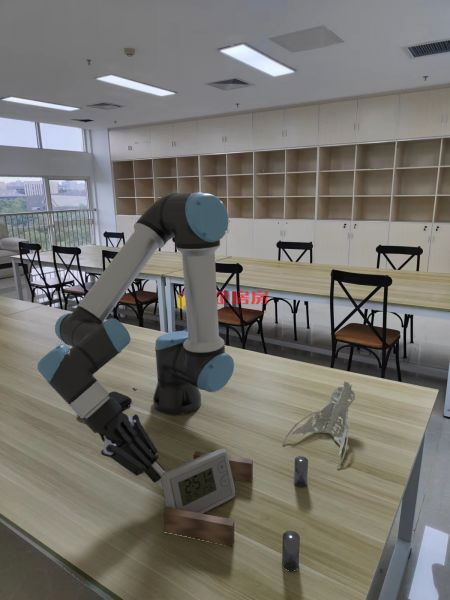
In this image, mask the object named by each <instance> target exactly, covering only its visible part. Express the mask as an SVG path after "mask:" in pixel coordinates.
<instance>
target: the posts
mask: <svg viewBox="0 0 450 600" xmlns="http://www.w3.org/2000/svg"><path fill="white" fill-rule="evenodd" d="M293 468H294V469H293V472H294V473H293V484H294V485H295V486H296V487H297V488H305V487H307V486H308V476H309V474H308V472H309V471H308V470H309V460H308V458H307V457H305V456H303V455H301V456H300V455H299V456H296V457H294V467H293ZM300 543H301V536H300V535H299V533H298V532H296V531H293V530H286V531H285V532H284V533H283V534H282V547H281V548H282V549H281V552H282V554H281V566H282V565H283V566H282V568H283V567H284V568H285V569H287V570H289V571H294V570H296V569H297V568H298V569H299V566H300V547H301V546H300V545H301V544H300ZM284 568H283V569H284ZM285 569H284V570H285ZM298 569H297V570H298ZM287 570H286V571H287ZM297 570H296V571H297ZM289 571H288V572H289ZM294 572H295V571H294Z"/></svg>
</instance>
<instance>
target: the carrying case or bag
mask: <svg viewBox="0 0 450 600" xmlns="http://www.w3.org/2000/svg"><path fill="white" fill-rule="evenodd" d="M108 397H109V398H110V397H112V398H114V399H115V400H116V401H117V402H118V404H119V405H120V406H121V407H122V410H124V409H126V408H127V407H129V406H130V405H132V402H133V399H132V397H129V396H127V395H125V394H123V393H121V392H118V391H114V390H113V391H111V392H109V396H108Z"/></svg>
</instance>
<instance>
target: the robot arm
mask: <svg viewBox="0 0 450 600" xmlns="http://www.w3.org/2000/svg"><path fill="white" fill-rule="evenodd" d="M228 229H229V214H228V211H227V208H226V206H225V204H224V202H223V201H222V200H221V199H220V198H219V197H217V196H216V195H214V194H211V193H207V192H206V193H204V192H185V193H183V192H181V193H179V192H171V193H167V194H165V195H163V196H161V197H159V198H158V199H156V200H155V201H154V202H153V203H152V204H151V205H150V206H149V207H148V208H147V209H146V210H145V211H144V212H143V213H142V215H141V216H140V217H139V218H138V219H137V221H136V222H135V224H134V225H133V230H134V231H133V233H132V234H131V235H130V237H128V239H127V240H126V242H125V243H124V244H123V245H122V247H121V248H120V250H119V251H118V252H117V253H116V255H115V256H114V257H113V259H112V260H111V261H110V262H109V264H108V265H107V267H106V268H105V270H103V272H102V273H101V274H100V276H99V277H97V280H96V281H95V282H94V284H93V285H92V286H91V287H90V289H89V290H88V292H86V294H85V296H83V297H82V299H81V301H80V302H79V303H78V304H77V305H76V307H75V309H74V310H73V311H72V312H66V313H64V314H62V315H61V316H59V317H58V319H57V320H56V322H55V325H54V332H55V334H56V337H58V340H59V339H60V341H61V340H62V342H63V343H64V344H62V343H61V344H59V346H58V345H57V346H56V347H55V348H53V349H52V350H50V351H49V352H47V353H46V354H45V355H44V356H43V357H42V358H41V359H40V360H39V361H38V363H37V371H38V372H39V373H40V375H42V377H43V378H44V379H45V381H46V382H47V384H49V386H51V387H52V389H54V390H55V392H56V394H58V395H59V396H60V397H61V399H63V400H64V401H65V402H66V403H67V404H68V406H69V407H70V408H71V409H72V411H74V412H75V414H77V416H78V417H80V419H84V418H85V420H84V424H85V425H86V426H87V427H88V428H89V429H90V430H91V432H93V433H94V434H98V435H99V436H100V439H101V441H102V442H103V443H104V444H103V449H101V451H100V454H101V456H104V457H107V458H110V459H112V460H114V461H115V462H116V463H118V464H119V465H120V466H122V467H124V468H125V469H127V470H128V471H129V472H131V473H132V474H133V475H135V476H137V477H138V476H141V475H143V474H145V475H146V476H147V477H148V478H149V479H150V480H151V481H152V482H153V483H156V484H157V485H158V486H159V487H160V488H161V490H163V487H162V482H161V476H162V474H164V473H165V472H166V470H165V468H164V467H163V466H162V465H161V463H160V462H158V459H159V455H158V453H159V452H158V449H157V447H156V446H155V444H154V442H153V441H152V439H151V437H150V436H149V434H148V432H146V430H145V428H144V427H143V425H142V422H141V420H140V417H139V415H138V414H137V413H136V414H134V415H133V416H128V415H127V414H126V413H124V412H122V410H123V409H122V407H121V406H120V405H119V404H118V402H117V401H116V400H115V399H114V398H112V397H110V398H109V397H108V396H109V393H110V392H109V391H108V390H107V389H106V388H105V387H104V386H103V385H102V384H101V382H100V381H99V380H98V379H97V378H96V377H95V376H94V375H95V373H97V372H98V371H99V370H100V369H101V368H103V367H104V366H106V364H108V363H109V362H110V361H112V359H114V358H115V357H117V355H119V354H120V353H122V351H123V350H124V349H125V348H126V347H127V346H128V345H129V344H130V343H131V335H130V333H129V331H128V330H127V328H126V327H125V325H124V324H123V323H122V322H120V320H118V319H116V318H114V317H111V318H108V316H109V315H110V314H111V313H112V311H113V310H114V308H115V307H116V306H117V304H118V303H119V301H120V300H121V298H123V296H124V294H125V293H126V292H127V291H128V289H129V288H130V287H131V285H132V284H133V282H135V279H136V278H137V277H138V275H139V274H140V273H141V272H142V270H143V269H144V267H145V266H146V265H147V264H148V262H149V260H150V259H151V258H152V256H153V255H154V254H155V252H156V251H157V250H158V249H163V248H164V247H165V245H166V244H167V242H168V241H170V240H171V239H173V238H174V243H175V244H174V245H175V249H176V250H177V251H178V252H180V253H181V257H182V271H183V272H182V273H183V283H184V284H183V285H184V299H185V312H186V327H187V331H186V330H179V331H172V332H166V333H164V334H161V335H159V336H158V337H157V338H156V339H155V345H154V352H155V361H156V362H155V363H156V375H157V383H156V386H155V389H154V394H153V398H152V404H153V405H152V406H153V407H154V409H155V411H157V412H158V413H161V414H163V415H171V416H179V415H187V414H189V413H192V412H193V411H196V410H197V409H199V408H200V406H201V405H202V394H201V393H202V392H201V391H205V392H208V393H216V392H218V391H220V390H222V389H223V388H224V387H225V386H227V385H228V383H229V381H230V380H231V378H232V376H233V373H234V370H235V369H234V368H235V361H234V358H233V357H232V356H231V355H230V354H229V353H227V352H226V348H225V347H226V346H225V345H226V344H225V340H224V339H223V338H222V337H221V336H220V333H219V332H220V331H219V330H220V329H219V313H218V312H219V311H218V293H217V273H216V270H217V269H216V256H215V255H216V251H217V250H218V249H219V248H220V247H221V239H223V238H224V236H225V235H226V231H228ZM107 318H108V319H107ZM70 347H72V348H70ZM200 390H201V391H200Z"/></svg>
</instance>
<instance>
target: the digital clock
mask: <svg viewBox="0 0 450 600" xmlns="http://www.w3.org/2000/svg"><path fill="white" fill-rule="evenodd" d="M207 453H208V454H205V455H203V456H201V457H198V458H196V459H194V458H193V459H191V460H190V461H187V462H184V463H182V464H180V465H178V466H177V467H175V468H172V469H170V470H168V471H164V472H165V473H164V474H162V476H161V482H162V487H163V489H162V491H163V496H164V500H165V507H169V508H175V509H180V510H185V511H190V512H196V513H201V514H205V513H207V512H208V511H210V510H213V509H214V508H216V507H218V506H220V505H222V504H225V503H226V502H228V501H230V500H231V499H233V498H234V497H235V496H236V489H235V487H236V486H235V484H234V479H233V478H232V473H231V469H230V464H229V459H228V456H229V455H228V452H227V450H226V449H225V448H219V449H217V450H214V451H212V452H207Z"/></svg>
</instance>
